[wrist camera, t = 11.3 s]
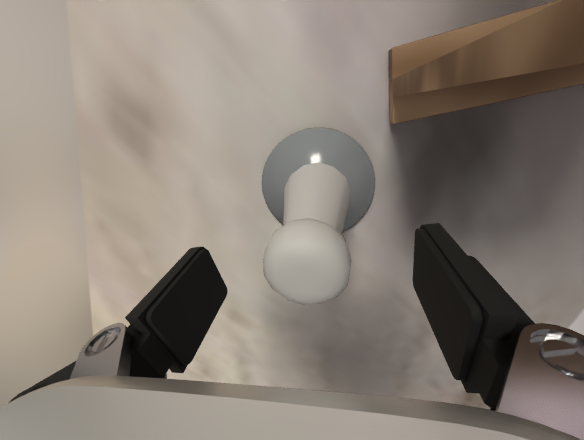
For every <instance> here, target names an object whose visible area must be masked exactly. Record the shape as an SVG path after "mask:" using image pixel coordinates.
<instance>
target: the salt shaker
mask: <svg viewBox="0 0 584 440" xmlns="http://www.w3.org/2000/svg"><path fill="white" fill-rule="evenodd" d="M350 193H351V191H350V188H349V185H348V182H347V179H346V177H345V176H344V175H343V174H341V173H340V172H339V171H338V170H337V169H336V168H335V167H333V166H330V165H327V164H323V163H320V162H318V163H312V164H307V165H303V166H302V167H301V168H299V169H298V170H297V171H295V172H294V173H293V174H291V176H290V178H289V180H288V182H287V184H286V186H285V189H284V218H283V226H282V227H281V228H279V229H277V230H276V231H275V232H274V234H273V236H272V238H271V240H270V242H269V244H268V246H267V248H266V249H265V251H264V257H263V270H264V276H265V278H266V279H267V281H268V283H269V284H270V286H271V287H272V289H273V290H275V291H276V292H277V293H279V294H280V295H282V296H283V297H284V298H286V299H287V300H290V301H293V302H297V303H300V304H320V303H323V302H325V301H328V300H330V299H332V298H335V297H337V296H338V295H339V294H340V293H341V292H342V291H343V289H344V288H345V287H346V286H347V285H348V280H349V274H350V267H351V257H350V253H349V250H348V248H347V245H346V243H345V240H344V238H343V236H342V235H341V234H342V230H343V226H344V223H345V219H346V215H347V211H348V207H349V201H350Z"/></svg>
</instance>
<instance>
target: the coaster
mask: <svg viewBox="0 0 584 440" xmlns="http://www.w3.org/2000/svg"><path fill="white" fill-rule="evenodd" d="M318 162H320V163H323V164H327V165H330V166H333V167H335V168H336V169H337V170H338V171H339V172H340V173H341V174H343V175H344V176H345V177H346V179H347V182H348V185H349V188H350V191H351V193H350V201H349V207H348V211H347V215H346V219H345V223H344V226H343V230H342V231H344V230H346V229H348V228H350V227H351V226H352V225H354V224H355V223H356V222H357V221H358V220H359V219H360V218H361V217H362V216H363V215H364V214H365V212H366V211H367V209H368V207H369V205H370V203H371V201H372V198H373V195H374V189H375V175H374V170H373V166H372V163H371V161H370V159H369V157H368V155H367V154H366V152H365V151H364V149H363V148H362V147H361V146H360V145H359V144H358V143H357V142H356V141H355V140H354V139H353V138H351V137H349V136H348V135H346V134H344V133H342V132H340V131H337V130H333V129H329V128H309V129H305V130H301V131H298V132H296V133H294V134H292V135H290V136H289V137H287V138H285V139H284V140H283V141H282V142H280V143H279V144H278V145H277V146H276V147H275V148H274V150H273V151H272V152H271V154H270V155H269V157H268V159H267V161H266V163H265V166H264V170H263V175H262V191H263V195H264V199H265V201H266V204H267V206H268V208H269V210H270V211H271V213H272V214H273V215H274V216H275V218H276V219H277V220H278V221H279V222H280V223H282V224H283V218H284V189H285V186H286V184H287V182H288V180H289V178H290V176H291V174H293V173H294V172H295V171H297V170H298V169H299V168H301V167H302V166H303V165H307V164H312V163H318Z"/></svg>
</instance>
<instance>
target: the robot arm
mask: <svg viewBox="0 0 584 440" xmlns="http://www.w3.org/2000/svg"><path fill="white" fill-rule="evenodd" d="M413 285H414V289H415V291H416V293H417V296H418V298H419V300H420V302H421V305H422V307H423V309H424V312H425V314H426V316H427V318H428V321H429V323H430V325H431V328H432V330H433V332H434V334H435V337H436V339H437V341H438V343H439V346H440V348H441V350H442V353H443V355H444V357H445V359H446V362H447V364H448V366H449V368H450V371H451V373H452V375H453V377H454V378H455V379H456V380H461V382H462V384H463V386H464V388H465V390H466V392H467V393H480V395H481V397H482V399H483V401H484V403H485V404H486V405H488V406H489V407H490V409H489V410H488V409H483V408H477V407H471V406H464V405H457V404H451V403H444V402H435V401H425V400H415V399H405V398H396V397H386V396H376V395H364V394H352V393H340V392H328V391H316V390H304V389H292V388H280V387H267V386H255V385H242V384H229V383H216V382H203V381H189V380H175V379H167V374H166V373H167V371H168V369H170V370H171V371H172V372H175V373H183V372H184V371H185V369H186V367H187V365H188V364H189V363H190V362H191V361H192V360H193V358H194V356H195V354H196V352H197V350H198V348H199V346H200V345H201V343H202V341H203V339H204V337H205V335H206V333H207V331H208V330H209V328H210V326H211V324H212V322H213V320H214V318H215V316H216V314H217V313H218V311H219V309H220V307H221V305H222V303H223V301H224V299H225V298H226V295H227V287H226V285H225V283H224V281H223V279H222V277H221V275H220V273H219V271H218V269H217V267H216V265H215V263H214V261H213V259H212V257H211V255H210V253H209V251H208V250H207V249H205V248H204V247H195V248H191V249H189V250H188V251H187V252H186V254H185V255H184V256H183V257H182V258H181V259H180V260H179V261H178V262H177V263H176V264H175V265H174V266H173V267H172V268H171V269H170V271H169V272H168V273H167V274H166V275H165V276H164V277H163V278H162V279H161V280H160V281H159V282H158V283H157V284H156V285H155V286H154V288H153V289H152V290H151V291H150V292H149V293H148V294H147V295H146V296H145V297H144V298H143V299H142V300H141V301H140V302H139V304H138V305H137V306H136V307H135V308H134V309H133V310H132V311H131V312H130V313H129V314H128V315H127V316H126V317H125V318H126V320H127V321H128V322H129V323H130V325H129V327H128V328H127V327H126V326H125V325H124V324H123V323H116V324H113V325H110V326H108V327H106V328H104V329H103V330H101V331H99V332H98V333H97V334H95V335H94V336H93V337H92V338H91V339H90V340H89V341H88V342H87V343H86V344H85V345H84V347H83V348H82V349H81V352H80V353H79V356H78V359H77V361H75V362H73V363H72V364H70V365H69V366H66V367H65V368H63V369H61V370H60V371H58V372H56V373H54V374H53V375H51V376H50V377H48V378H46V379H44V380H43V381H40V382H39V383H37V384H35V385H34V386H32V387H30V388H29V389H27V390H25V391H23V392H21V393H20V394H18V395H17V396H16V397H15V398H13V399H12V400H11V401H10V402H9V403H8V404H7V405H5V406H3V407H2V408H0V440H584V335H582V334H579V333H577V332H575V331H573V330H570V329H567V328H564V327H560V326H557V325H551V324H544V323H540V324H535V323H534V322H533V321H532V320H531V319H530V318H529V317H528V315H527V314H526V313H525V312H524V311H523V310H522V309H521V308H520V307H519V306H518V304H517V303H516V302H515V301H514V300H513V299H512V298H511V297H510V296H509V295H508V293H507V292H506V291H505V290H504V289H503V288H502V287H501V286H500V285H499V283H498V282H497V281H496V280H495V279H494V278H493V277H492V276H491V275H490V274H489V272H488V271H487V270H486V269H485V268H484V267H483V266H482V265H481V264H480V263H479V261H478V260H477V259H475V258H474V257H472V256H467V255H466V253H465V252H464V251H463V250H462V249H461V248H460V246H459V245H458V244H457V243H456V242H455V241H454V240H453V238H452V237H451V236H450V235H449V234H448V233H447V232H446V230H445V229H444V228H443V227H442V226H441V225H440V224H439V223H436V224H426V225H421V227H420V229H416V231H415V246H414V266H413Z"/></svg>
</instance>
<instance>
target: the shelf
mask: <svg viewBox="0 0 584 440" xmlns="http://www.w3.org/2000/svg"><path fill="white" fill-rule="evenodd" d="M580 84H584V0H557V1H554V2H550V3H547V4H543V5H540V6H536V7H533V8H529V9H526V10H522V11H519V12H515V13H512V14H508V15H505V16H501V17H498V18H495V19H491V20H488V21H484V22H481V23H477V24H474V25H470V26H467V27H463V28H460V29H456V30H453V31H449V32H446V33H442V34H439V35H435V36H432V37H428V38H425V39H421V40H418V41H414V42H411V43H407V44H404V45H401V46H397V47H394V48H391V49H390V50H389V102H390V123H391V124H395V123H400V122H405V121H409V120H414V119H419V118H424V117H428V116H433V115H438V114H443V113H447V112H452V111H457V110H462V109H466V108H471V107H476V106H481V105H485V104H490V103H495V102H500V101H504V100H509V99H514V98H519V97H523V96H528V95H533V94H538V93H542V92H547V91H552V90H557V89H561V88H566V87H571V86H576V85H580Z"/></svg>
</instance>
